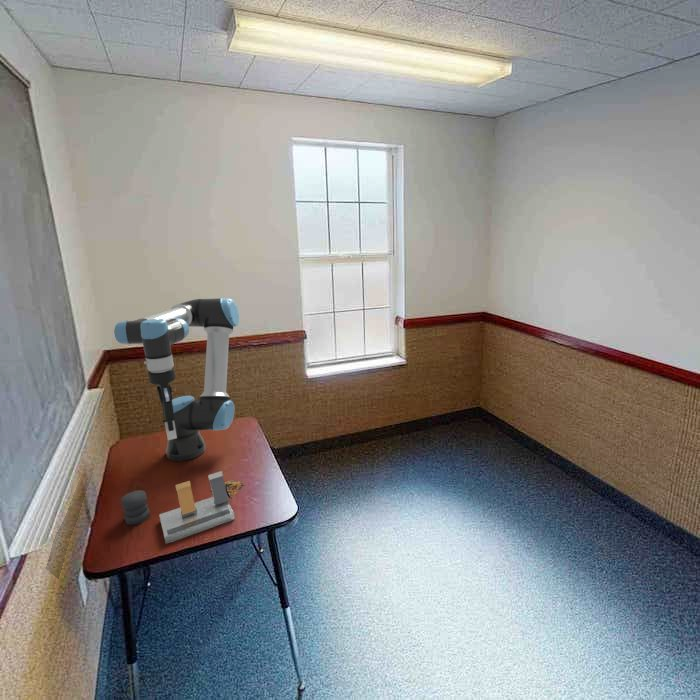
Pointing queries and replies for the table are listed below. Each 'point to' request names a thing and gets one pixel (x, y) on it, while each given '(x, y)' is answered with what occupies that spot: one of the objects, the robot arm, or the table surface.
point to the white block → (218, 488)
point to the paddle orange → (185, 498)
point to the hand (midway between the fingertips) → (172, 438)
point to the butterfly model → (233, 487)
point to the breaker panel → (194, 519)
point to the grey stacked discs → (135, 507)
